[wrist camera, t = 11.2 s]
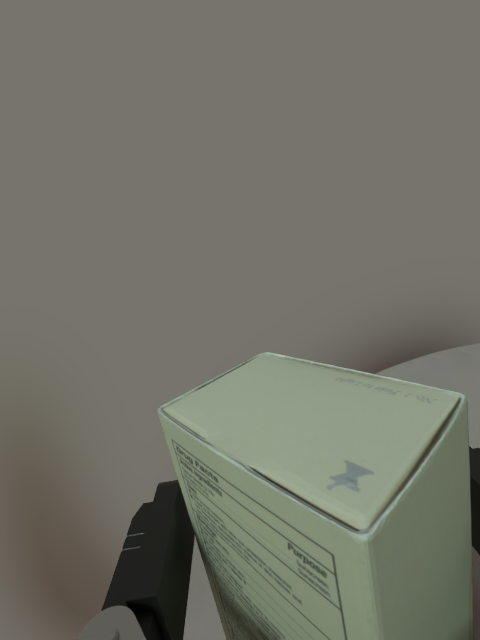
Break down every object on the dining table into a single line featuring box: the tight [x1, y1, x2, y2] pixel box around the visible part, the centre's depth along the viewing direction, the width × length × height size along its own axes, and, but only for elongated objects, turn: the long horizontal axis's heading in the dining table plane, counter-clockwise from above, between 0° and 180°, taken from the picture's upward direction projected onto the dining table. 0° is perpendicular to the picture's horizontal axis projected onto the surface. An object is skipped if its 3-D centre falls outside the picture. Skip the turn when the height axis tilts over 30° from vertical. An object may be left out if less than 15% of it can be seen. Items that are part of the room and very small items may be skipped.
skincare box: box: [158, 352, 474, 640], centre depth 9 cm, size 6×4×12 cm
